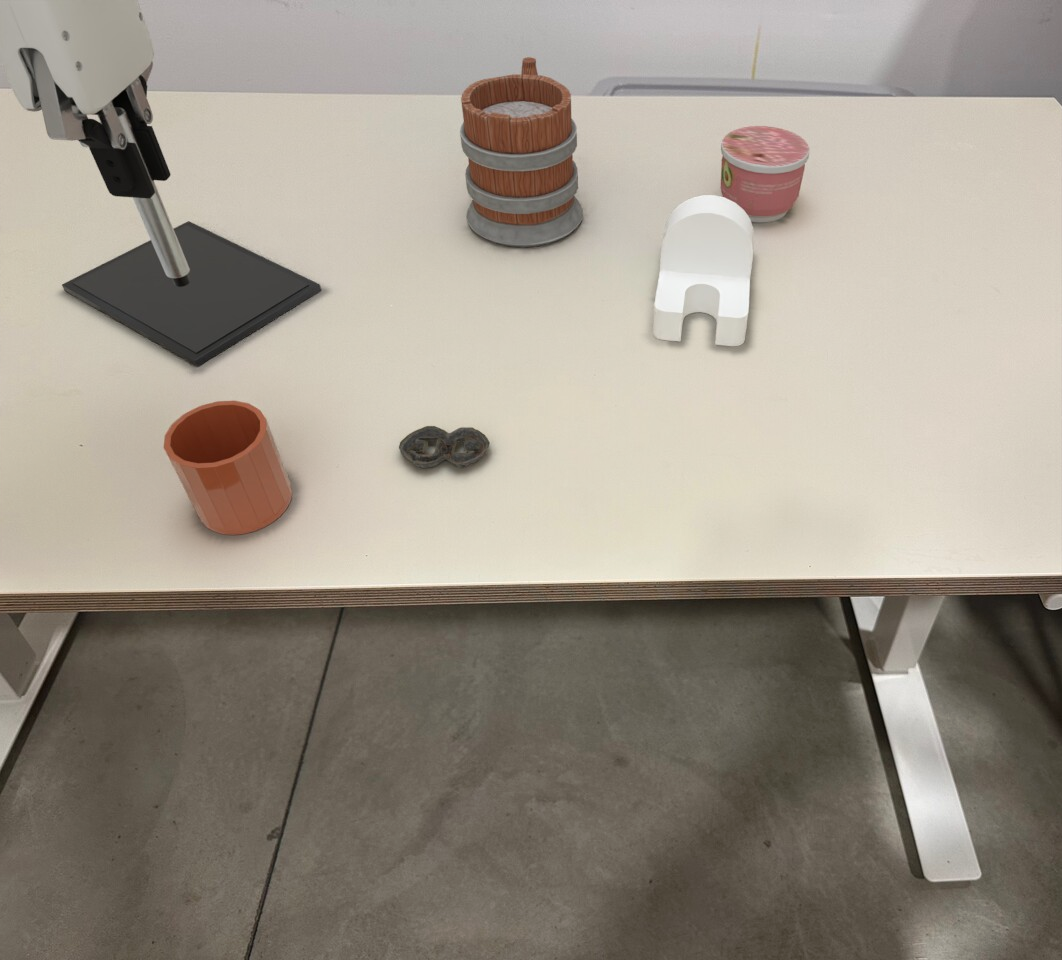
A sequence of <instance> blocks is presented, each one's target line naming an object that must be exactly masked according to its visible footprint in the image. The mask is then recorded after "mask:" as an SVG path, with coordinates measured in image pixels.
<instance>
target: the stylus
mask: <svg viewBox="0 0 1062 960" xmlns="http://www.w3.org/2000/svg"><path fill="white" fill-rule="evenodd" d="M114 109H115V111H116V113H117V116H118V118H119V120H120V123H121V125H122V127H123V130H124V132H125V135H126V137H127V142H130V143H135V144H136V146H137V148H138V150H139V153H140V155H141V158H142V160H143V163H144V165H145V168H146V170H147V173H148V175H149V177H150V180H151V182H152V185H153V187H154V190H155V193H154V195H153V196H152V197H151V198H134V197H132V199H133V202H134V204H135V206H136V209H137V211H138V213H139V215H140V219H141V220H142V223H143V225H144V228H145V230H146V232H147V234H148V237H149V239H150V240H151V241H152V244H153V246H154V248H155V251H156V253H157V255H158V258H159V260H160V262H161V265H162V267H163V269H164V272H165V274H166V276H167V277H169V278H172V280H173V282H174V285H175V286H177V287H183V286H186V285H188V284H189V283H190V279H189V277H188V273H189V271H190V269H189V266H188V264H187V261H186V259H185V256H184V254H183V251H182V249H181V247H180V244H179V242H178V239H177V237H176V234H175V232H174V227H173V224H172V222H171V219H170V217H169V215H168V212H167V209H166V207H165V205H164V203H163V199H162V197H161V194H160V192H159V189H158V187H157V185H156V183H155V180H153V177H152V175H151V173H150V170H149V168H148V165H147V163H146V160H145V158H144V155H143V153H142V150H141V148H140V145H139V143H138V140H137V138H136V136H135V133H134V131H133V128H132V126H131V123H130V121H129V118H128V116H127V113H126V111H125V110H124V109H123V108H120V107H114ZM97 118H98V122H100V123H101V121H100V118H99V116H98V115H97ZM101 124H102V123H101Z"/></svg>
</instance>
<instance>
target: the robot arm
mask: <svg viewBox="0 0 1062 960" xmlns="http://www.w3.org/2000/svg"><path fill="white" fill-rule="evenodd" d="M154 55H155V50H154V46H153V42H152V38H151V34H150V32H149V28H148V26H147V22H146V20H145V17H144V14H143V11H142V8H141V6H140V3H139V1H138V0H0V67H1V68H2V71H3V73H4V75H5V78H6V79H7V82H8V84H9V86H10V88H11V91H12V92H13V94H14V96H15V99H16V100H17V102H18V103H19V105H20V106H21V107H22V108H23V109H24V110H25V111H27V112H34V113H35V112H39V111H41V112H42V117H43V121H44V126H45V130H46V134H47V136H48V137H49V139H50V140H54V141H70V142H72V141H78V142H79V145H81V147H84V148H88V149H89V151H90V153H91V155H92V158H93V160H94V162H95V164H96V167H97V169H98V171H99V174H100V175H101V177H102V180H103V181H104V184H105V187H106V189H107V192H108V193H109V194H110V195H112V196H114V197H121V198H133V197H134V198H151V197H152V196H153V195H154V193H155V190H154V187H153V185H152V182H151V180H150V177H149V175H148V173H147V170H146V168H145V165H144V163H143V160H142V158H141V155H140V153H139V150H138V148H137V146H136V144H135V143H130V142H127V137H126V135H125V132H124V130H123V127H122V125H121V123H120V120H119V118H118V116H117V113H116V111H115V109H114V107H120V108H123V109H124V110H125V111H126V113H127V116H128V118H129V121H130V123H131V126H132V128H133V131H134V133H135V136H136V138H137V140H138V143H139V145H140V148H141V150H142V153H143V155H144V158H145V160H146V163H147V165H148V168H149V170H150V173H151V175H152V177H153V180H154V181H160V182H165V181H168V179H169V178H170V177H171V171H170V169H169V166H168V164H167V161H166V159H165V156H164V153H163V151H162V148H161V145H160V143H159V140H158V137H157V135H156V133H155V130H154V128H153V125H151V124H152V123H153V120H154V115H153V110H152V109H151V106H150V102H149V101H148V98H147V97H148V84H147V83H148V81H149V78H150V75H151V73H152V70H153V66H154V64H153V63H154V62H153V60H154ZM89 115H90V116H91V115H92V116H94V115H95V116H97V117H98V116H99V118H100V121H101V123H102V124H101V123H100V121H99V120H96V119H94V118H89V117H88V116H89ZM99 118H98V119H99Z"/></svg>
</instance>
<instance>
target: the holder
mask: <svg viewBox="0 0 1062 960" xmlns="http://www.w3.org/2000/svg"><path fill="white" fill-rule="evenodd" d="M163 450H164V451H165V454H166V456H167V457H168V459H169V462H170V464H171V465H172V467H173V469H174V471H175V473H176V475H177V477H178V479H179V481H180V483H181V485H182V487H183V489H184V491H185V493H186V495H187V497H188V499H189V500H190V502H191V505H192V507H193V509H194V511H195V512H196V515H197V516H198V518H199V520H200V521H201V523H202V524H203V526H205V528H207V529H208V530H210V531H212V532H215V533H218V534H221V535H227V536H228V535H229V536H230V535H231V536H235V535H237V536H238V535H245V534H249V533H253V532H256V531H258V530H262V529H264V528H266V527H268V526H269V525H271V524H273V523H274V522H275V521H277V520H278V519H279V518H280V517H281V516H283V514H284V513H285V512H286V510H287V509H288V507H289V505H290V504H291V500H292V497H293V488H292V485H291V481H290V479H289V476H288V472H287V470H286V467H285V465H284V462H283V460H282V457H281V454H280V452H279V449H278V447H277V443H276V442H275V438H274V436H273V433H272V430H271V428H270V425H269V422H268V420H267V418H266V417H265V415H264V413H263V411H262V410H261V409H259V408H258V407H256V406H254V405H252V404H251V403H249V402H245V401H239V400H219V401H213V402H209V403H206V404H202V405H199V406H197V407H195V408H192V409H191V410H188V411H187V412H185V413H183V414H182V415H180V417H178V419H176V420H175V421H174V422H173V423H172V424H171V425H170V426H169V428H168V430H167V431H166V432H165V435H164V439H163Z"/></svg>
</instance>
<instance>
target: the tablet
mask: <svg viewBox="0 0 1062 960" xmlns="http://www.w3.org/2000/svg"><path fill="white" fill-rule="evenodd" d="M173 229H174V232H175V234H176V237H177V239H178V242H179V244H180V247H181V249H182V251H183V254H184V256H185V259H186V261H187V264H188V266H189V269H190V271H189V273H188V277H189V279H190V283H189V284H188V285H186V286H183V287H177V286H175V285H174V282H173V280H172V278H169V277H167V276H166V274H165V272H164V269H163V267H162V265H161V262H160V260H159V258H158V255H157V253H156V251H155V248H154V246H153V244H152V241H151V239H150V240H148V241H146V242H144V243H142V244H140V245H138V246H136V247H134V248H131V249H130V250H128V251H126V252H124V253H122V254H120V255H118V256H116V257H114V258H112V259H110V260H107V261H105V262H104V263H102V264H100V265H98V266H96V267H94V268H92V269H90V270H88V271H86V272H84V273H82V274H80V275H78V276H76V277H74V278H72V279H70V280H68V281H66V282H64V283H62V284H61V287H62V288H63V290H64V292H66V293H68V294H70V295H71V296H73V297H75V298H77V299H78V300H80V301H82V302H84V303H85V304H87V305H89V306H91V307H92V308H93V309H96V310H97V311H99V312H101V313H103V314H104V315H106V316H108V317H110V318H111V319H113V320H114V321H117V322H119V323H120V324H122V325H124V326H125V327H127V328H129V329H131V330H133V331H134V332H136V333H137V334H140V335H141V336H142V337H144V338H146V339H148V340H150V341H151V342H154V343H155V344H157V345H159V346H161V347H162V348H164V349H166V350H167V351H169V352H170V353H173V354H174V355H176V356H178V357H180V358H181V359H184V360H185V361H186V362H188V363H190V364H192V365H194V366H196V367H197V368H198V367H199V366H201V365H203V364H205V363H206V362H208V361H209V360H211V359H213V358H214V357H216V356H218V355H219V354H220V353H222V352H224V351H226V350H227V349H229V348H231V347H232V346H234V345H236V344H237V343H239V342H241V341H242V340H243V339H245V338H247V337H248V336H251V334H253V333H255V332H257V331H258V330H260V329H261V328H262V327H264V326H266V325H268V324H270V323H271V322H273V321H274V320H276V319H277V318H279V317H280V316H282V315H284V314H285V313H287V312H289V311H291V310H292V309H294V308H295V307H296V306H299V305H300V304H302V303H304V302H305V301H307V300H308V299H310V298H311V297H313V296H315V295H316V294H318V293H320V292H321V291H322V288H321V284H320V283H318V282H316V281H313V280H311V279H310V278H307V277H306V276H303V275H301V274H299V273H297V272H295V271H293V270H291V269H289V268H286V267H285V266H282V265H280V264H278V263H277V262H274V261H272V260H270V259H268V258H267V257H264V256H262V255H260V254H259V253H258V254H257V253H256V252H254V251H251V250H249V249H247V248H245V247H244V246H241V245H239V244H237V243H235V242H234V241H231V240H229V239H227V238H224V237H223V236H222V235H221V236H220V235H218V234H216V233H214V232H212V231H210V230H208V229H206V228H204V227H202V226H199V225H198V224H195V223H194V222H191V221H189V220H188V221H185V222H184V223H181V224H180V225H177V226H175V227H173Z"/></svg>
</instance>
